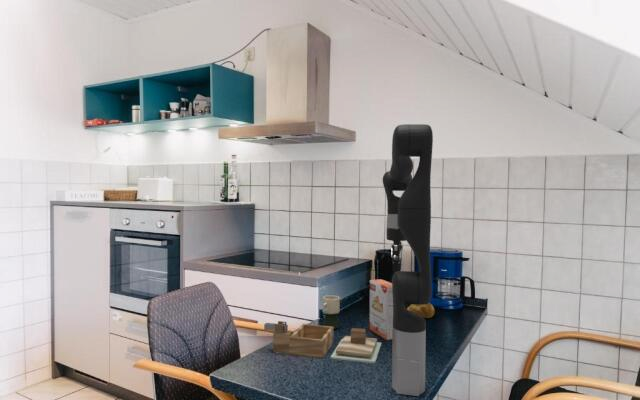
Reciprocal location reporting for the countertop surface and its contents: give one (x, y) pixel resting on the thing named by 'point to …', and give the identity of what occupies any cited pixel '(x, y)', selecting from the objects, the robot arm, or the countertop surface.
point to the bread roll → (422, 310)
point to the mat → (358, 359)
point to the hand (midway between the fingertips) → (396, 272)
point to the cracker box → (381, 308)
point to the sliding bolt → (272, 326)
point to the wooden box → (303, 340)
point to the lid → (357, 344)
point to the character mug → (331, 310)
